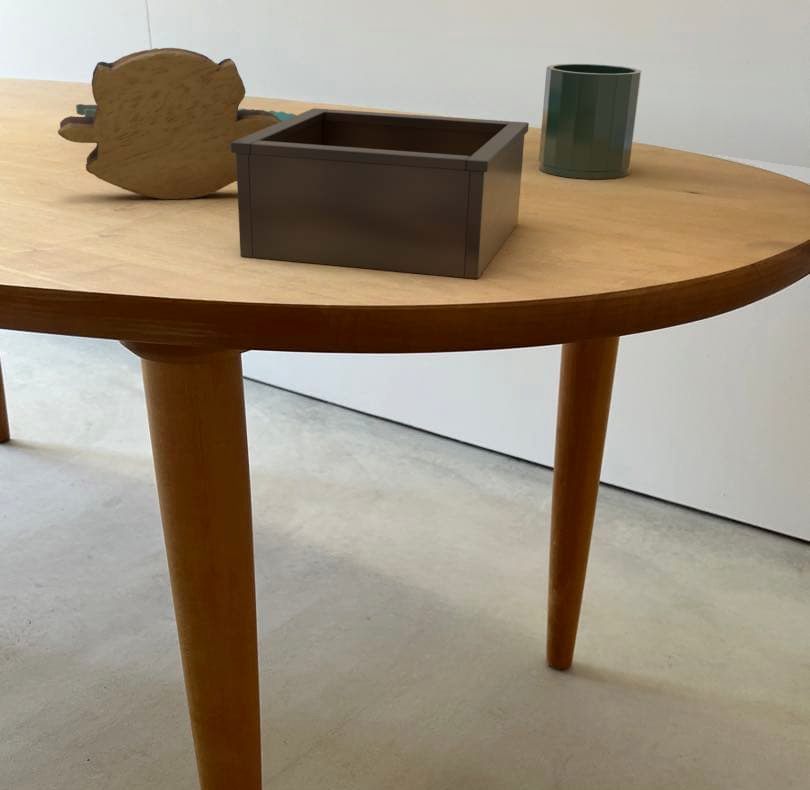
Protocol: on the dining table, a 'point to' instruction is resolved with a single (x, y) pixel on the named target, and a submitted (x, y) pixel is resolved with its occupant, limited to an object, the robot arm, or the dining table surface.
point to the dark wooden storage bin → (380, 190)
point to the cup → (588, 120)
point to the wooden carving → (166, 123)
